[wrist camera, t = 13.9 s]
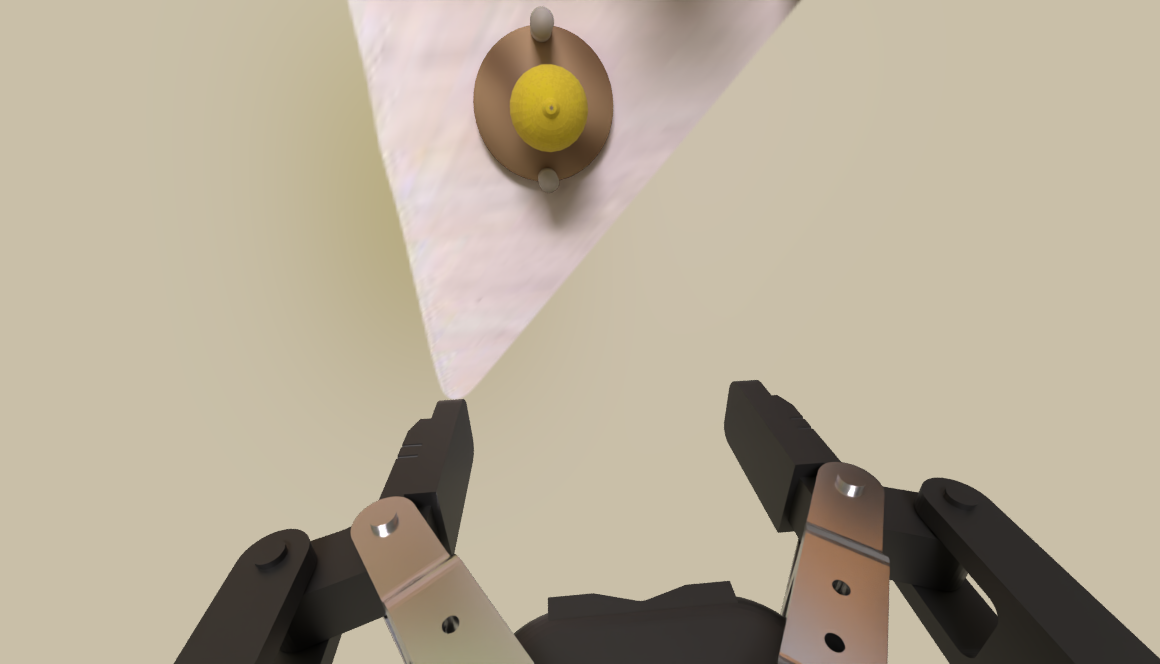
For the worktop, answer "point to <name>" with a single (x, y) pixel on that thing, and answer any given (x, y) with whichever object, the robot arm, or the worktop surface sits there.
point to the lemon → (548, 108)
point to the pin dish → (500, 78)
